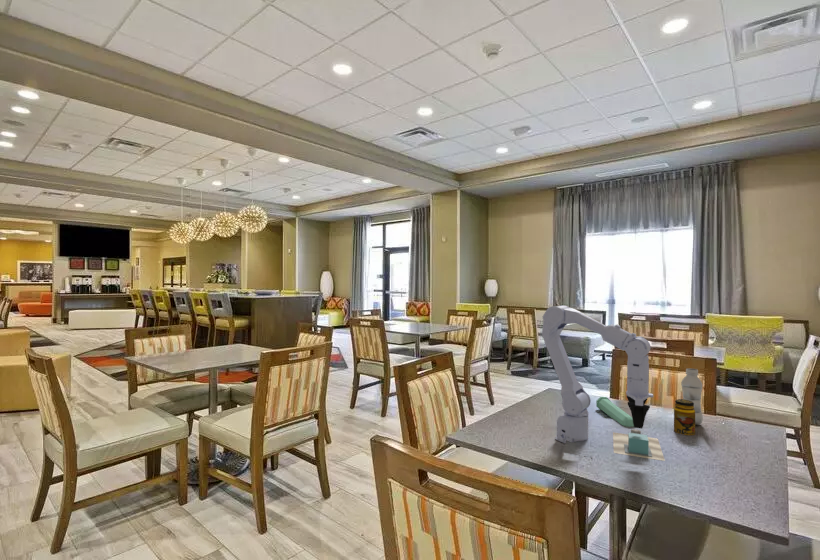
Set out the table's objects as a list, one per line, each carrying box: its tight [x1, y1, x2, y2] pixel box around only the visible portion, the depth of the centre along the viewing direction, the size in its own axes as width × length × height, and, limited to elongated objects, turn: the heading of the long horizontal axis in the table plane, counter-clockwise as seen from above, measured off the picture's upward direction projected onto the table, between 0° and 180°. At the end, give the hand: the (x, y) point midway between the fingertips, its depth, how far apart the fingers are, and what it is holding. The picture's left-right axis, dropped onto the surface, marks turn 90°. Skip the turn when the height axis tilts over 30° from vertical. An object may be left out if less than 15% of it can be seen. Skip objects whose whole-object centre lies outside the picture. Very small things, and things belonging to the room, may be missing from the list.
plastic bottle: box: [681, 368, 704, 426], centre depth 157 cm, size 6×7×20 cm
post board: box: [612, 428, 666, 462], centre depth 132 cm, size 19×13×4 cm
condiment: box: [673, 398, 696, 436], centre depth 145 cm, size 7×8×12 cm
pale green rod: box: [595, 396, 634, 428], centre depth 161 cm, size 6×6×25 cm
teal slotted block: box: [627, 432, 649, 454], centre depth 128 cm, size 5×5×4 cm
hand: (637, 423), depth 128 cm, fingers open, 7 cm apart
